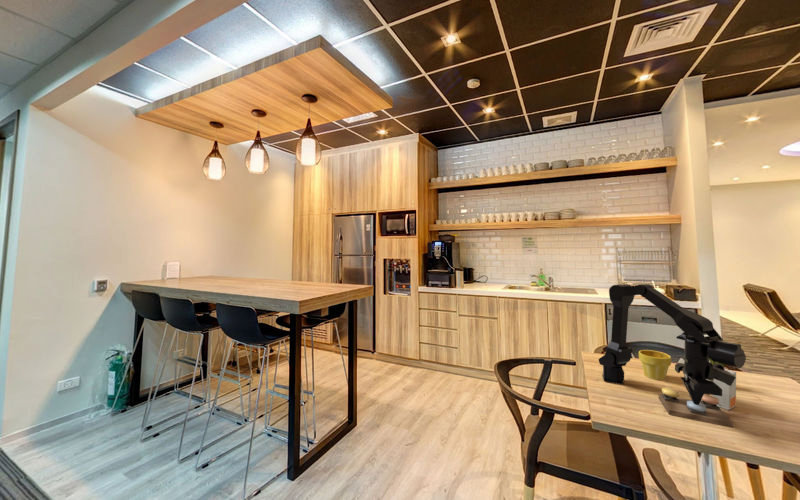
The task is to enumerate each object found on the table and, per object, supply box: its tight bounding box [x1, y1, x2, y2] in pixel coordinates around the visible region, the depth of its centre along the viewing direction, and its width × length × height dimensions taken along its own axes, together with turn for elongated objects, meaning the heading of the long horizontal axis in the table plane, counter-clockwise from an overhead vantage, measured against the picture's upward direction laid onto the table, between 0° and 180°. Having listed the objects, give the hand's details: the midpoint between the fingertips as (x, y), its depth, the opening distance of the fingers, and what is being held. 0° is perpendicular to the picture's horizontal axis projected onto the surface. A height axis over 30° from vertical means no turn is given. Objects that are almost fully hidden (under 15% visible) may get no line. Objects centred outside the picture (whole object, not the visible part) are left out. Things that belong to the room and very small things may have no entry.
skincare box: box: [712, 368, 737, 411], centre depth 104 cm, size 6×4×12 cm
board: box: [658, 393, 734, 428], centre depth 100 cm, size 15×12×2 cm
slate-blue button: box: [687, 401, 706, 412], centre depth 98 cm, size 4×4×2 cm
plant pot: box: [638, 349, 672, 381], centre depth 127 cm, size 10×10×10 cm
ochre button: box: [661, 387, 680, 398], centre depth 105 cm, size 4×4×2 cm
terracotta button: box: [701, 394, 719, 405], centre depth 101 cm, size 4×4×2 cm
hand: (696, 404), depth 98 cm, fingers closed, pressing on slate-blue button
